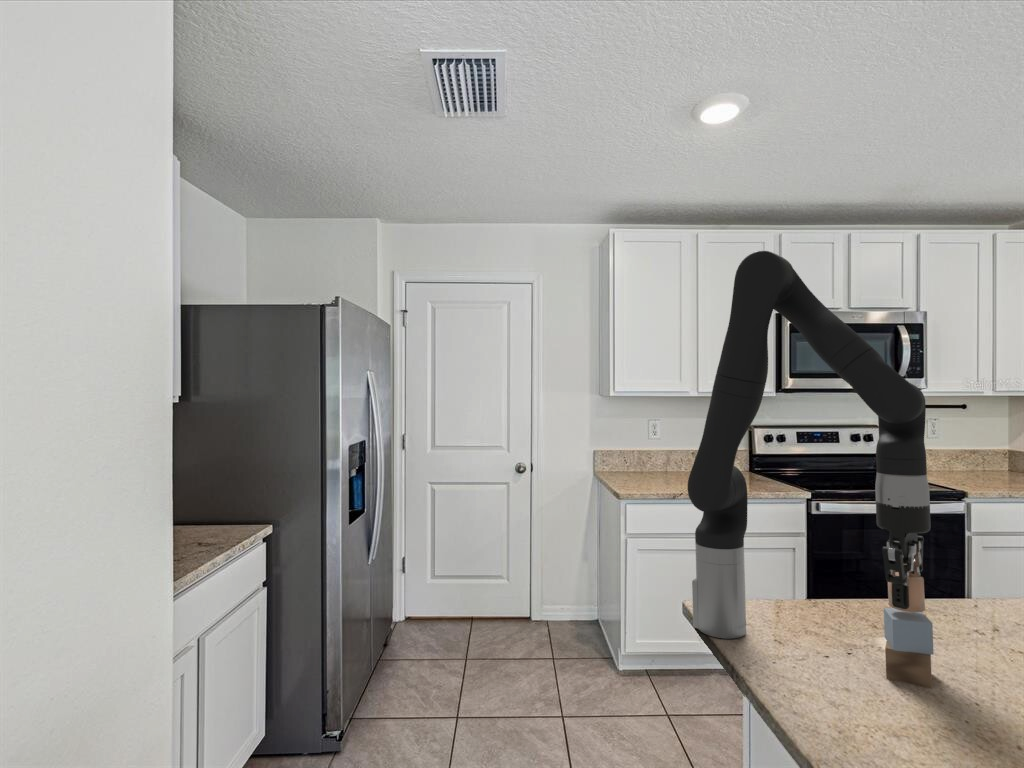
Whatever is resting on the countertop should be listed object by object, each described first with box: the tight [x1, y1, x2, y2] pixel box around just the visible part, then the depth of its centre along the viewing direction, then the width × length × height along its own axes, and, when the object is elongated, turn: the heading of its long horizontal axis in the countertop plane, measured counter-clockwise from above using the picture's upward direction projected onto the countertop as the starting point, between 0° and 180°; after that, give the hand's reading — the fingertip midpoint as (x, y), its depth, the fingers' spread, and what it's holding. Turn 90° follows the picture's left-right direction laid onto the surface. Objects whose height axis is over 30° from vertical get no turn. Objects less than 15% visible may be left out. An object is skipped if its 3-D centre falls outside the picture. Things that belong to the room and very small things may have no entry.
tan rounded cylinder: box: [887, 571, 926, 613], centre depth 97 cm, size 5×5×5 cm
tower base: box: [884, 640, 932, 689], centre depth 96 cm, size 6×6×5 cm
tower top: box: [883, 607, 934, 656], centre depth 96 cm, size 6×6×5 cm
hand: (905, 602), depth 97 cm, fingers closed on tan rounded cylinder, 5 cm apart
